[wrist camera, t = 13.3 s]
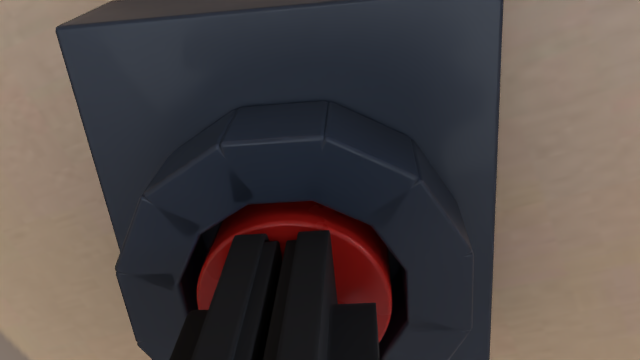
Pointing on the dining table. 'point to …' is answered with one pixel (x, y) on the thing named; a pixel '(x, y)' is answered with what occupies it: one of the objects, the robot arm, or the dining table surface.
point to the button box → (298, 144)
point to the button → (284, 224)
